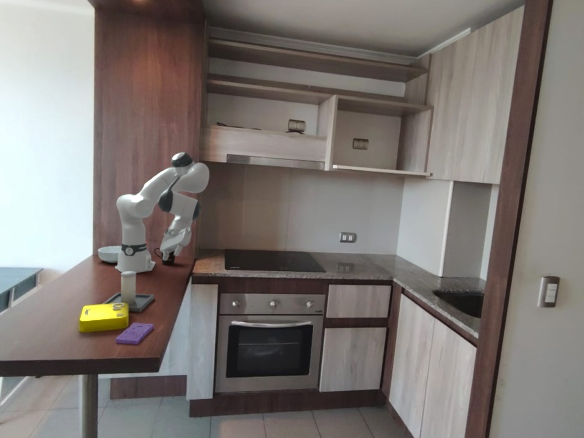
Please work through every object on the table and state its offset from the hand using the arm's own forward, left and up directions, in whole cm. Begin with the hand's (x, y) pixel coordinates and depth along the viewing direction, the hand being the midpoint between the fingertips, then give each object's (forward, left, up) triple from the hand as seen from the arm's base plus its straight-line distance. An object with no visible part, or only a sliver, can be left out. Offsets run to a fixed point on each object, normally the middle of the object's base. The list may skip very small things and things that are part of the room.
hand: (170, 257), depth 164 cm
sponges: (+45, +2, -16) cm, 47 cm away
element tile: (+36, -12, -16) cm, 41 cm away
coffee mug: (-45, -16, -15) cm, 50 cm away
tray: (+19, -11, -15) cm, 26 cm away
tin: (+19, -10, -14) cm, 26 cm away
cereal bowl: (-43, -44, -16) cm, 63 cm away
